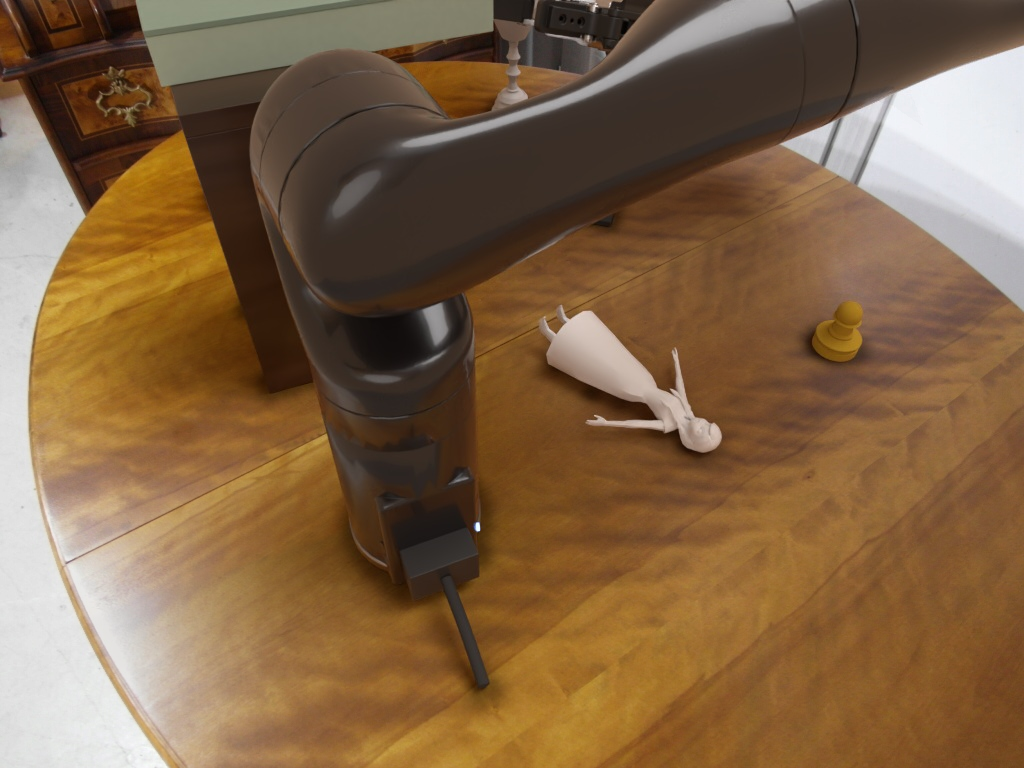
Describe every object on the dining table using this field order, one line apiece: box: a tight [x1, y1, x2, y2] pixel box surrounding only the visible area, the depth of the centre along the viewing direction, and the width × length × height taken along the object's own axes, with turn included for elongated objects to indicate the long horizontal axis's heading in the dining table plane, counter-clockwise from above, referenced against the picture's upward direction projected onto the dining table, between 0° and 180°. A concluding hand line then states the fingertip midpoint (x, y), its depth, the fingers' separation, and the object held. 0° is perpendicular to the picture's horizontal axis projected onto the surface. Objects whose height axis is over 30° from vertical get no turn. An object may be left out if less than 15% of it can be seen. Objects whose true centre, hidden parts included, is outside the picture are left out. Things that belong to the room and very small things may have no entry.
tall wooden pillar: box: [169, 51, 375, 394], centre depth 60 cm, size 12×13×25 cm
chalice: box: [491, 0, 539, 111], centre depth 88 cm, size 7×7×18 cm
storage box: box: [135, 0, 494, 88], centre depth 51 cm, size 5×22×4 cm, turn 113°
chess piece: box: [811, 300, 864, 363], centre depth 67 cm, size 4×4×5 cm
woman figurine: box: [538, 304, 723, 454], centre depth 64 cm, size 12×4×18 cm
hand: (508, 7), depth 58 cm, fingers open, 8 cm apart
